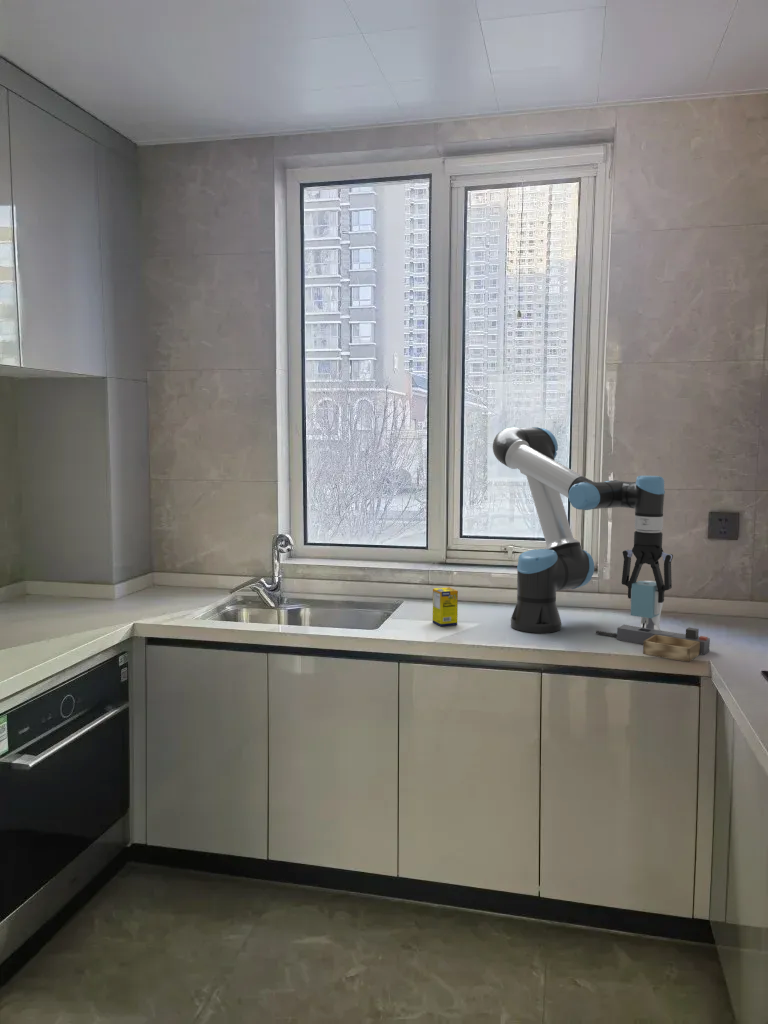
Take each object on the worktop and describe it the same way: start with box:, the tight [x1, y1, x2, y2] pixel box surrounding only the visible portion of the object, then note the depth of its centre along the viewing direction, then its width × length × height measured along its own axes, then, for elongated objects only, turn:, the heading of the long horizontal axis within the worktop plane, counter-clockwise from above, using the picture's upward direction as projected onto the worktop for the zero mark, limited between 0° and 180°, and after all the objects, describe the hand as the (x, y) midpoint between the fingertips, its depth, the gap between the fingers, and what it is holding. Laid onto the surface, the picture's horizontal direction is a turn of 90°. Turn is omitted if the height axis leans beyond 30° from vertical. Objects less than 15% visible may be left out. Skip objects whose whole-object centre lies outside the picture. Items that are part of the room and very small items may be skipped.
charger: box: [630, 580, 659, 625], centre depth 217 cm, size 6×6×12 cm
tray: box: [642, 635, 701, 663], centre depth 205 cm, size 12×9×4 cm
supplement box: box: [432, 587, 459, 627], centre depth 238 cm, size 6×6×11 cm
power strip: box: [595, 624, 711, 656], centre depth 216 cm, size 32×5×6 cm, turn 52°
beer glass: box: [639, 579, 664, 630], centre depth 229 cm, size 7×7×15 cm
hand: (645, 611), depth 217 cm, fingers closed on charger, 6 cm apart
